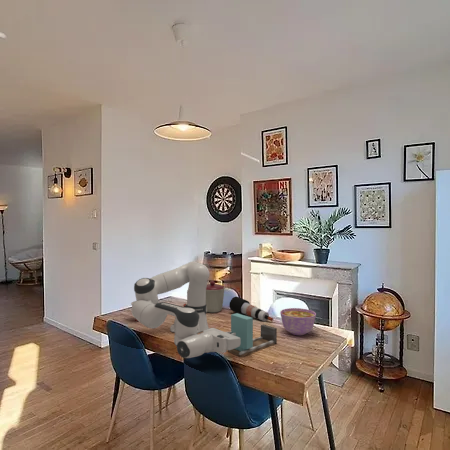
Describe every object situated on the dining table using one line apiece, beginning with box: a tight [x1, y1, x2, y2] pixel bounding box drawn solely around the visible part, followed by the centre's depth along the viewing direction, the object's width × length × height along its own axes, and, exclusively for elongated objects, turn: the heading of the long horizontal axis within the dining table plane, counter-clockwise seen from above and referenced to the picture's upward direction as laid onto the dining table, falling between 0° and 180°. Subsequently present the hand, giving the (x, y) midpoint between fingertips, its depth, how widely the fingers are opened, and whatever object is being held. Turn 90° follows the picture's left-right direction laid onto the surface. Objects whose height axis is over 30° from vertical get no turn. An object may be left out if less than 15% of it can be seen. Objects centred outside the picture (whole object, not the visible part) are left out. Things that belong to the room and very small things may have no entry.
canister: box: [206, 280, 226, 314], centre depth 237 cm, size 18×18×21 cm
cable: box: [229, 296, 274, 322], centre depth 221 cm, size 10×34×10 cm, turn 39°
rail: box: [227, 324, 278, 358], centre depth 169 cm, size 26×9×8 cm, turn 132°
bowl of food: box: [279, 307, 317, 336], centre depth 190 cm, size 20×20×12 cm
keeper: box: [230, 312, 254, 351], centre depth 163 cm, size 5×11×16 cm, turn 42°
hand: (233, 333), depth 160 cm, fingers closed
